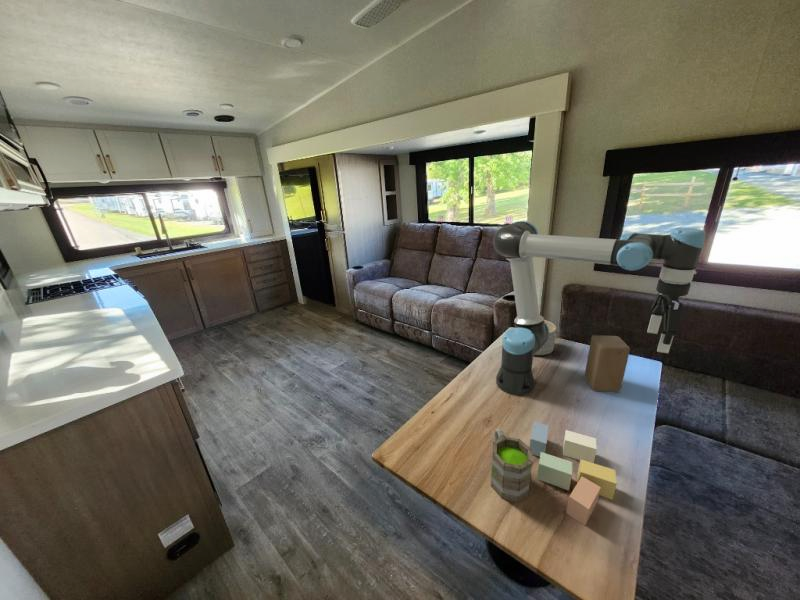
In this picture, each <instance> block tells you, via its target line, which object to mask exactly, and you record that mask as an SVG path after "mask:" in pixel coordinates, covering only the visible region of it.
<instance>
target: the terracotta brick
mask: <svg viewBox="0 0 800 600" xmlns="http://www.w3.org/2000/svg"><path fill="white" fill-rule="evenodd" d="M577 482H578V481H577ZM600 489H601V487H599V486H598V485H596V484H594V483H593V482H591V481H589V480H588V479H586V478H584V477H583V476H582V477H581V478H580V480H579V482H578V483H577V484H576V485H575V486H574V487H573V490H572V492H571V493H570V494H569V497H568V502H567V507H566V511H565V513H566V514H567V515H569V516H570V517H572V518H573V519H575V520H576V521H577V522H579V523H580V524H582V525H583V526H586V525H587V523H588V521H589V519H590V517H591V515H592V513H593V512H594V510H595V508H596V506H597V504H598V500H599V496H600V495H599V493H600Z"/></svg>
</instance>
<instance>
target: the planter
mask: <svg viewBox="0 0 800 600" xmlns="http://www.w3.org/2000/svg"><path fill="white" fill-rule="evenodd" d="M544 323H546V324H547V326H548V328H549V337H548V339H547V341H546V342H545V344H544V345H543V346H542V347H541V348H540V349H539V350H538V351H537V352H536V353H535V354H534V356H545V355H549V354H552V352H553V351H554V349H555V340H556V333H557V326H556V325H555V324H554V323H553V322H552V321H549V320H546V319H544Z"/></svg>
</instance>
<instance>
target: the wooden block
mask: <svg viewBox="0 0 800 600" xmlns="http://www.w3.org/2000/svg"><path fill="white" fill-rule="evenodd" d="M588 349H589V350H588V354H587V361H586V366H585V372H584V377H585V380H586V382H587V383H588V385H589V386H590V388H591V390H593V391H594V392H610V393H620V392H621V389H622V386H623V382H624V377H625V372H626V368H627V365H628V361H629V360H628V359H629V355H630V351H631V347H630V346H629V345H627V343H626V342H625V341H624V340H623V339H622V338H621V337H620V336H617V335H595V334H593V335H592V336H591V338H590V343H589V348H588Z"/></svg>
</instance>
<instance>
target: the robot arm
mask: <svg viewBox="0 0 800 600" xmlns="http://www.w3.org/2000/svg"><path fill="white" fill-rule="evenodd" d="M706 236H707V234H706V231H704V230H703V229H699V228H691V227H678V228H677V227H676V228H674V229H672V230H671V233H670V234H652V233H651V234H650V233H639V232H638V233H637V232H625V233H623V234H622V235H621V236H620V238H619V239H615V238H614V239H613V238H599V237H598V238H597V237H583V236H569V235H567V236H566V235H552V234H551V235H549V234H539V231H538V228H537V227H536V226H535V225H534V224H533V223H531V222H529V221H526V220H521V221H520V220H519V221H516V222H512V223H510V224H507V225H504V226H503V225H502V226H501V227H500V228H499V229H497V231H496V232H495V233H494V235H493V239H492V244H493V248H494V250H495V251H496V253H497V254H499V255H500V256H502V257H505V260H507V261H509V264H510V271H511V278H512V286H513V293H514V302H515V308H516V309H515V310H516V317H515V318H514V321H513V322H514V328H509V329H507V330H506V331H505V332H504V334H503V336H502V341H501V343H502V344H501V345H502V346H501V348H502V349H501V365H500V367H499V369H498V371H497V374H496V375H495V376H496V377H495V384H496V385H497V387H498V388H499V389H500V390H501V391H503V392H505V393H507V394H510V395H514V396H526V395H529V394H531V393H532V392H533V391H535V388H536V386H535V385H536V381H535V377H534V373H533V371H532V370H533V359H534V356H535V355H534V354H535V353H536V352H537V351H538V350H539V349H540V348H541V347H542V346H543V345H544V344H545V342H546V341H547V339H548V337H549V328H548V326H547V324H546V323H544V320H545V318H544V316H542V315H541V314H540V309H539V302H538V301H539V300H538V293H537V291H538V290H537V284H536V283H537V282H536V277H535V276H536V275H535V267H534V258H543V259H553V260H560V261H562V260H563V261H572V262H582V263H592V264H601V265H608V266H609V265H611V266H618V267H621V269H623V270H627V271H633V272H634V271H638V270H640V269H643V268H644V267H646V266H647V265H648V264H649V263H650V262H651V261H652V260H655V261H657V260H658V261H663V263H662V265H661V269H660V273H659V276H658V277H659V279H658V280H657V285H656V292H658V293H657V296H656V297H655V299H654V301H653V303H652V305H651V307H650V311H651V316H650V320H649V324H648V327H647V329H646V330H647V331H646V332H647V333H648V334H655V335H658V332H659V329H660V326H661V323H662V319H663V331H660V338H659V342H658V345H657V349H656V352H658V353H662V354H663V353H664V354H669V352H670V349H671V346H672V343H673V339H674V337H678V335H679V329H680V321H681V311H682V308H683V303H682V302H680V300H679V298H680V297H686V296H687V295H688V294H689V292H690V289H691V285H692V283H691V282H692V281H693V278H694V275H696V274H697V273H698V272H697V271H696V269H697V266H698V263H699V260H700V258H701V254H702V251H703V248H704V245H705V239H706Z"/></svg>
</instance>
